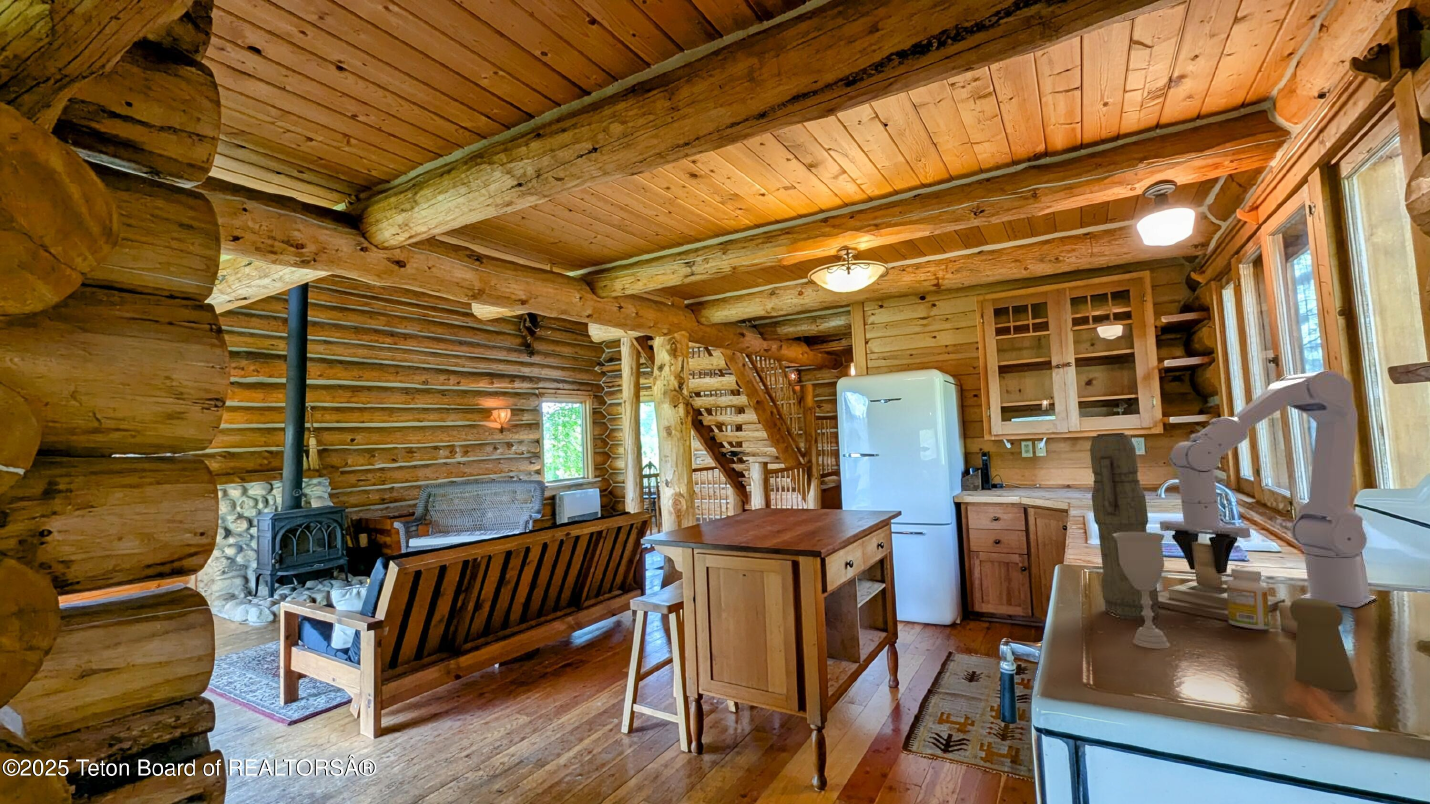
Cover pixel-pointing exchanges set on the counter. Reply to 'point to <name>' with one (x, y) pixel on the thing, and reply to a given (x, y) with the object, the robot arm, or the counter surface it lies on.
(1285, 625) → the short oak dowel
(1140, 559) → the chalice
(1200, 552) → the long oak dowel
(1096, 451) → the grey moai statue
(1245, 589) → the supplement bottle
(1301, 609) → the olive tapered capped post
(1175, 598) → the collar board
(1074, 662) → the counter surface
